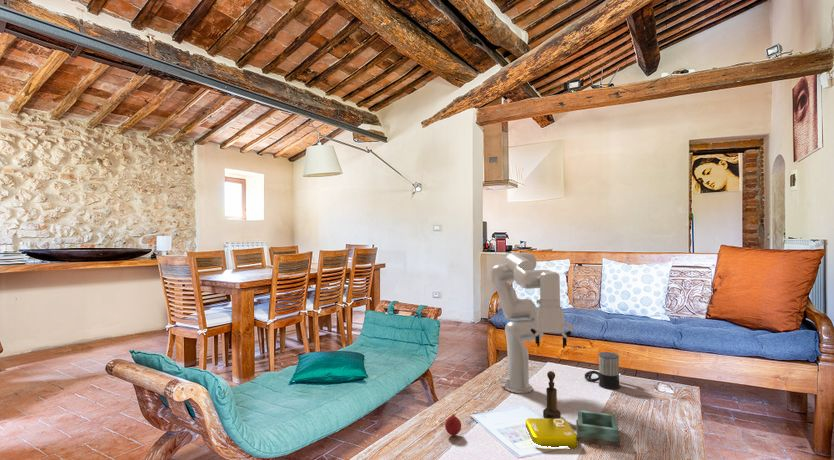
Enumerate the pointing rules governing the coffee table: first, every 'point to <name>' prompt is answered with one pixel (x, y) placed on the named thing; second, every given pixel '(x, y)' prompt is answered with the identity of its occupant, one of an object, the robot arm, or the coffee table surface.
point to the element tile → (551, 432)
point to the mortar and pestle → (551, 399)
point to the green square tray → (597, 428)
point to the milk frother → (607, 371)
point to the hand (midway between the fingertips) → (551, 346)
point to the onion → (453, 425)
